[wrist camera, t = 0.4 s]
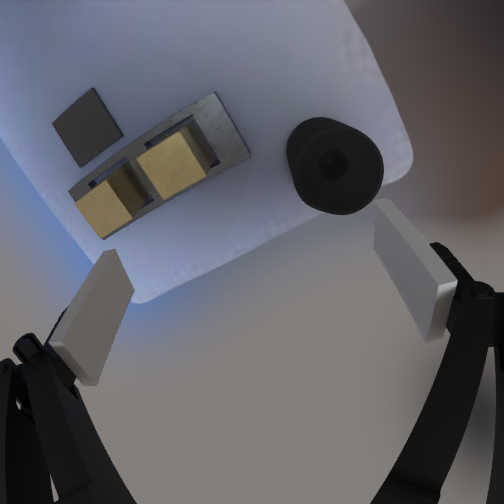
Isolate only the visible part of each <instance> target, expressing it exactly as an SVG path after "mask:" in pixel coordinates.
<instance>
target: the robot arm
mask: <svg viewBox="0 0 504 504" xmlns="http://www.w3.org/2000/svg"><path fill="white" fill-rule="evenodd" d="M373 205H374V250H375V251H376V253H377V255H378V256H379V258H380V260H381V261H382V263H383V265H384V267H385V268H386V270H387V272H388V273H389V275H390V277H391V279H392V280H393V282H394V284H395V286H396V287H397V289H398V291H399V293H400V295H401V297H402V298H403V300H404V302H405V304H406V306H407V308H408V309H409V311H410V313H411V315H412V317H413V319H414V321H415V323H416V324H417V327H418V328H419V330H420V333H421V335H422V337H423V338H424V341H425V343H428V342H431V341H435V340H438V339H441V338H443V336H444V332H445V329H446V327H447V329H448V331H449V333H450V334H451V335H450V338H449V341H448V344H447V348H446V350H445V353H444V356H443V359H442V362H441V364H440V367H439V370H438V372H437V375H436V378H435V380H434V383H433V385H432V388H431V390H430V392H429V395H428V397H427V400H426V402H425V404H424V406H423V409H422V411H421V413H420V415H419V417H418V420H417V422H416V424H415V426H414V428H413V430H412V432H411V434H410V436H409V438H408V440H407V442H406V444H405V446H404V448H403V450H402V451H401V453H400V455H399V457H398V459H397V461H396V462H395V464H394V466H393V468H392V470H391V471H390V473H389V475H388V476H387V478H386V480H385V481H384V483H383V484H382V486H381V488H380V489H379V491H378V492H377V494H376V496H375V497H374V498H373V500H372V502H371V503H370V504H438V502H439V498H440V490H441V487H442V485H443V483H444V481H445V479H446V476H447V474H448V472H449V470H450V468H451V465H452V463H453V461H454V458H455V456H456V453H457V451H458V448H459V446H460V443H461V441H462V438H463V435H464V433H465V430H466V427H467V424H468V421H469V418H470V415H471V412H472V409H473V406H474V402H475V399H476V395H477V392H478V388H479V385H480V381H481V377H482V373H483V369H484V365H485V361H486V356H487V351H488V347H494V355H495V373H496V424H495V440H494V452H493V462H492V470H491V477H490V484H489V490H488V496H487V501H486V504H504V292H502V293H501V292H498V293H497V292H495V291H494V289H493V288H492V287H491V286H490V285H488V284H486V283H483V282H479V281H474V279H473V278H472V277H471V276H470V274H469V273H468V272H467V271H466V269H465V268H464V267H463V266H462V265H461V263H460V262H458V260H457V259H456V258H455V257H454V256H453V254H452V253H451V252H450V251H449V249H448V248H446V247H445V246H443V245H441V244H440V243H438V242H435V243H431V244H428V243H427V241H426V240H425V239H424V238H423V237H422V236H421V234H420V233H419V232H418V231H417V230H416V229H415V227H414V226H413V225H412V224H411V223H410V222H409V221H408V220H407V219H406V217H405V216H404V215H403V214H402V213H401V212H400V211H399V210H398V209H397V208H396V206H395V205H394V204H393V203H392V202H391V201H390V200H389V199H388V198H385V199H379V200H374V201H373ZM134 291H135V290H134V288H133V286H132V284H131V282H130V280H129V278H128V275H127V273H126V271H125V269H124V267H123V265H122V263H121V261H120V258H119V256H118V254H117V252H116V250H115V249H112V250H108V251H103V253H102V254H101V256H100V257H99V259H98V260H97V262H96V263H95V265H94V267H93V268H92V270H91V271H90V273H89V274H88V276H87V277H86V279H85V281H84V282H83V284H82V285H81V287H80V289H79V290H78V292H77V293H76V295H75V297H74V298H73V300H72V302H71V303H70V305H69V306H68V307H67V308H66V309H65V310H64V311H63V312H62V314H61V316H60V317H59V319H58V322H56V324H55V326H54V328H53V329H52V331H51V333H50V335H49V336H48V338H47V340H46V342H45V344H44V346H43V345H42V344H41V343H40V341H39V340H38V339H37V337H36V336H35V335H34V334H33V333H28V334H25V335H23V336H22V337H21V338H19V339H18V340H17V342H16V343H15V345H14V347H13V352H14V354H15V355H16V356H17V357H18V359H19V360H20V361H21V362H22V364H19V365H16V364H15V363H14V362H13V361H12V360H11V359H10V358H7V359H4V360H3V361H1V362H0V504H137V503H136V502H135V500H134V499H133V497H132V495H131V494H130V492H129V490H128V489H127V487H126V486H125V484H124V482H123V480H122V479H121V477H120V475H119V474H118V472H117V470H116V468H115V466H114V465H113V463H112V461H111V459H110V457H109V455H108V453H107V451H106V449H105V447H104V446H103V444H102V442H101V440H100V437H99V436H98V434H97V431H96V429H95V427H94V425H93V423H92V420H91V419H90V416H89V414H88V412H87V409H86V407H85V405H84V402H83V400H82V397H81V395H80V393H79V390H78V388H77V387H76V385H74V381H75V379H76V378H77V379H78V380H79V381H80V382H81V383H82V384H83V385H84V386H97V384H98V381H99V379H100V376H101V373H102V370H103V367H104V365H105V362H106V360H107V357H108V354H109V352H110V349H111V346H112V344H113V341H114V339H115V336H116V334H117V331H118V329H119V326H120V324H121V321H122V319H123V316H124V314H125V311H126V309H127V307H128V304H129V302H130V300H131V297H132V295H133V293H134ZM16 401H17V402H18V403H19V404H20V405H21V408H20V409H18V407H17V404H16ZM50 475H51V478H52V480H53V483H54V486H55V489H56V491H57V494H58V497H59V499H58V501H56V502H54V500H53V494H52V487H51V479H50Z"/></svg>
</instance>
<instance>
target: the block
mask: <svg viewBox="0 0 504 504" xmlns="http://www.w3.org/2000/svg"><path fill="white" fill-rule="evenodd" d="M136 159H137V161H138V162H139V164H140V165H141V167H142V168H143V170H144V171H145V173H146V174H147V176H148V177H149V179H150V180H151V182H152V183H153V185H154V186H155V188H156V189H157V191H158V192H159V194H160V195H161V197H162V198H163V200H165V199H167V198H168V197H170V196H172V195H174V194H175V193H177V192H179V191H181V190H182V189H184V188H186V187H188V186H189V185H191V184H193V183H195V182H197V181H199V180H200V179H202V178H204V177H206V176H207V174H208V171H209V169H210V166H211V164H212V161H213V159H214V155H213V153H212V152H211V150H210V148H209V147H208V145H207V143H206V142H205V140H204V138H203V137H202V135H201V133H200V132H199V130H198V129H197V127H196V125H195V124H194V122H193V120H192V121H190V122H188V123H187V124H185V125H183V126H182V127H180V128H178V129H177V130H175V131H173V132H172V133H170V134H168V135H167V136H165V137H164V138H162V139H160V140H159V141H157V142H156V143H155V144H153V145H152V146H151V147H150V148H148V149H147V150H146V151H145V152H144V153H142V154H141V155H140V156H139V157H138V158H136Z"/></svg>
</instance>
